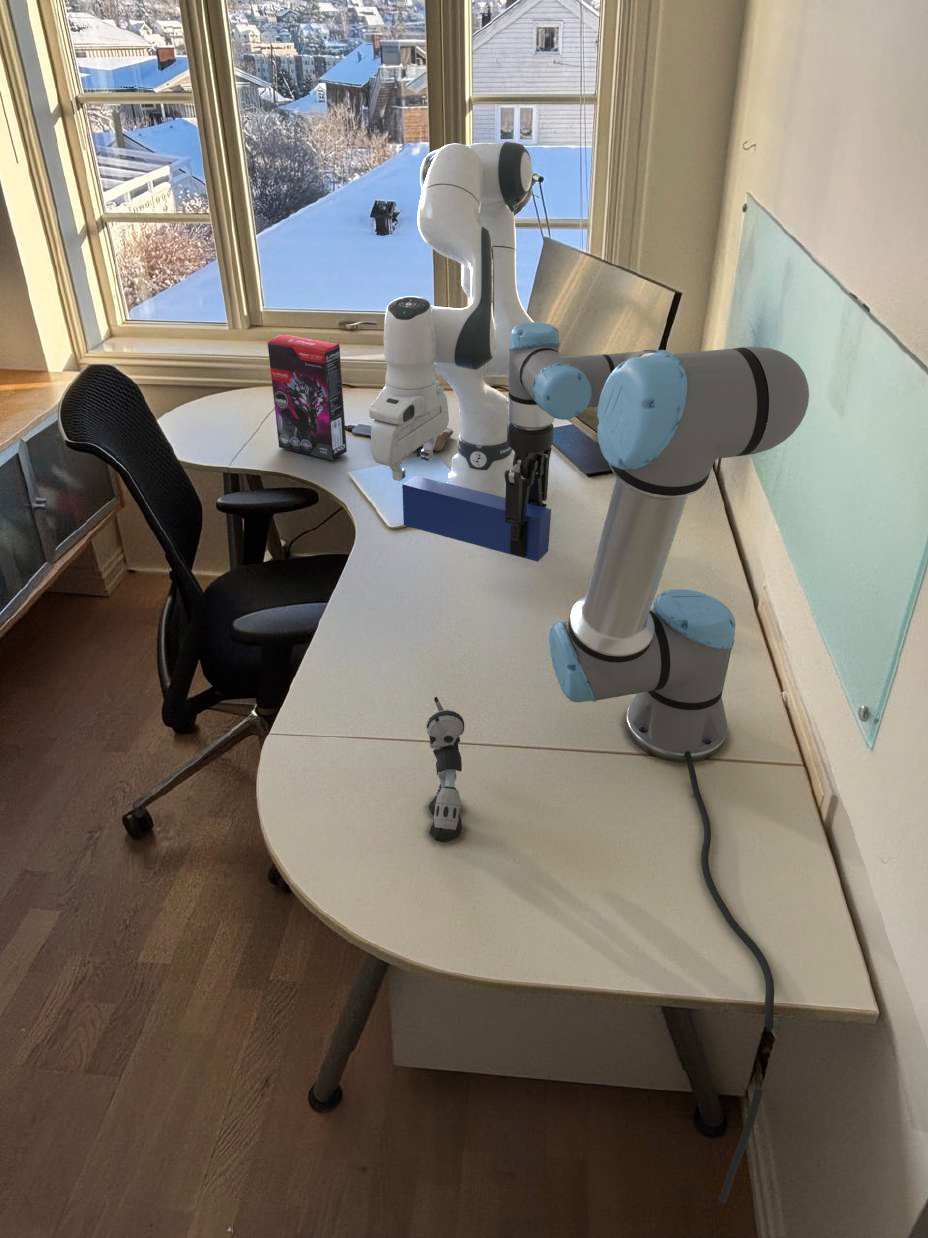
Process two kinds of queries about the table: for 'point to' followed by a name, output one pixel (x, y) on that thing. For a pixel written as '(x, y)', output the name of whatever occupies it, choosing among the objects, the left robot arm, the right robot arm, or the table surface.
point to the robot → (446, 772)
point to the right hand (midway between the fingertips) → (524, 548)
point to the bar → (471, 516)
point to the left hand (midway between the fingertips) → (413, 468)
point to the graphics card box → (308, 395)
